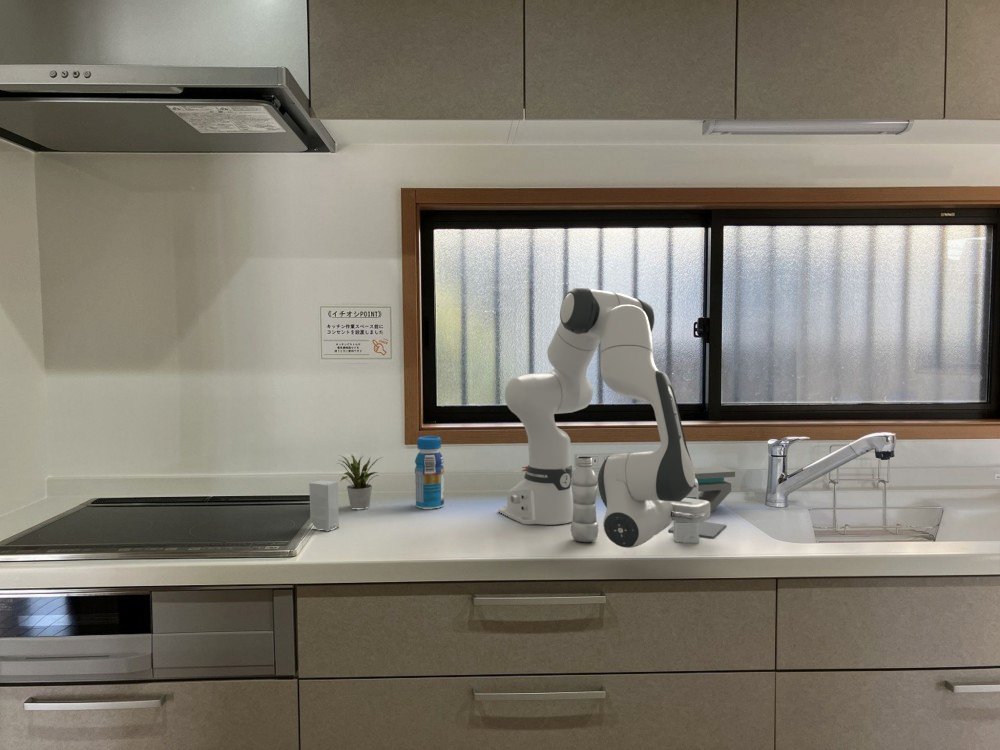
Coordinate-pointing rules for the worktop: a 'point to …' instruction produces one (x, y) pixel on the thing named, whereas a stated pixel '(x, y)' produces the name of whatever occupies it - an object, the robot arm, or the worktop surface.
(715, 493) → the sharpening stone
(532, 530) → the worktop surface
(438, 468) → the beverage bottle
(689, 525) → the syrup box
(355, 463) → the house plant
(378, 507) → the worktop surface
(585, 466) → the plastic bottle
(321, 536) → the worktop surface
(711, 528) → the mat
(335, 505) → the skincare box
